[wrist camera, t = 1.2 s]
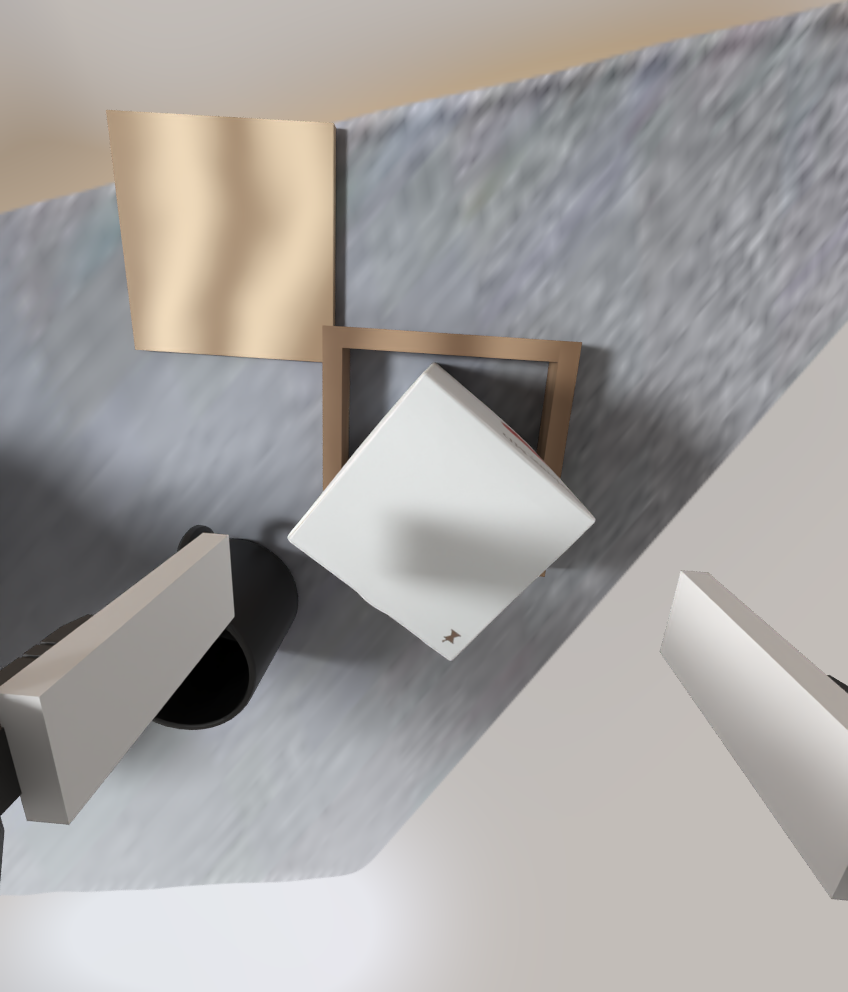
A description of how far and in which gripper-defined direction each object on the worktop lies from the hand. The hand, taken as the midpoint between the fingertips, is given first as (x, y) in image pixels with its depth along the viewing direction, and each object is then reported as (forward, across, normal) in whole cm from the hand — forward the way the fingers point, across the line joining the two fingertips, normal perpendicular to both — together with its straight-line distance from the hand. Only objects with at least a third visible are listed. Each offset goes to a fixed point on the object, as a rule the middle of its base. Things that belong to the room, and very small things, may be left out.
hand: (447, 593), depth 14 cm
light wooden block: (+19, -14, +12) cm, 27 cm away
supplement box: (+20, 0, 0) cm, 20 cm away
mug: (+20, -15, -11) cm, 27 cm away
